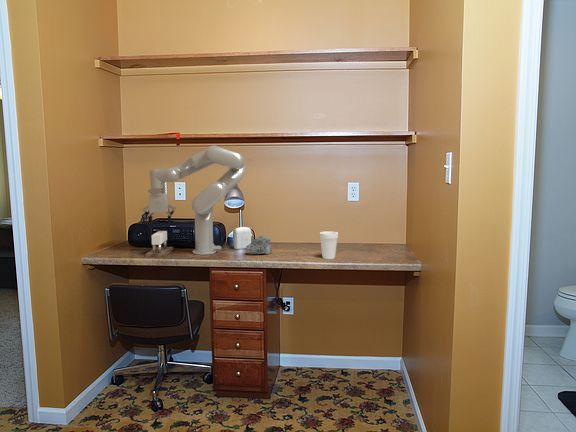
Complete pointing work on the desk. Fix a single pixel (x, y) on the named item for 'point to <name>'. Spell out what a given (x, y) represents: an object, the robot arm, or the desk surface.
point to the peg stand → (159, 251)
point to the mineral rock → (259, 246)
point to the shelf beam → (159, 237)
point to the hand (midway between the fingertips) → (160, 223)
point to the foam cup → (328, 244)
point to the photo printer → (242, 237)
